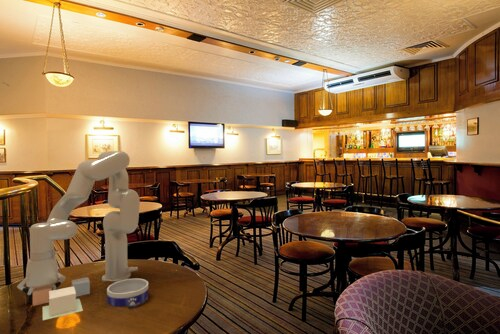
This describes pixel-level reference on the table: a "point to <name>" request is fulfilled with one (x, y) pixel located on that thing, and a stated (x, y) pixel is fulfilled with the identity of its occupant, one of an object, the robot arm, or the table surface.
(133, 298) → the dog bowl
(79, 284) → the slate brick
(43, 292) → the terracotta brick
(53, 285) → the robot arm
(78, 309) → the plate
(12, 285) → the table surface
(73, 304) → the base brick
